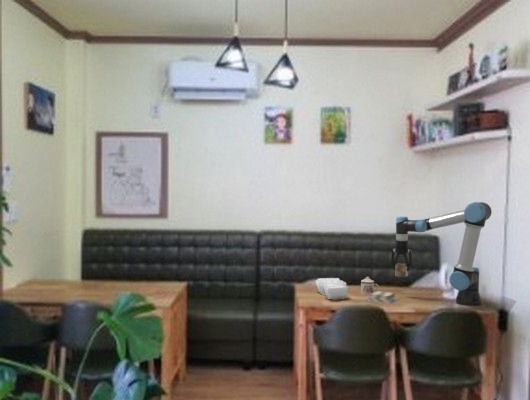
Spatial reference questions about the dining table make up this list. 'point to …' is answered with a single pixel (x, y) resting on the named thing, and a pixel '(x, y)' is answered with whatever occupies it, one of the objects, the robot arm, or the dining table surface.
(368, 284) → the teacup with lid
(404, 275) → the walnut block
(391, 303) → the plan mat
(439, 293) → the dining table surface
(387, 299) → the riser block
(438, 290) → the dining table surface
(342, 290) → the white wavy slab sculpture
